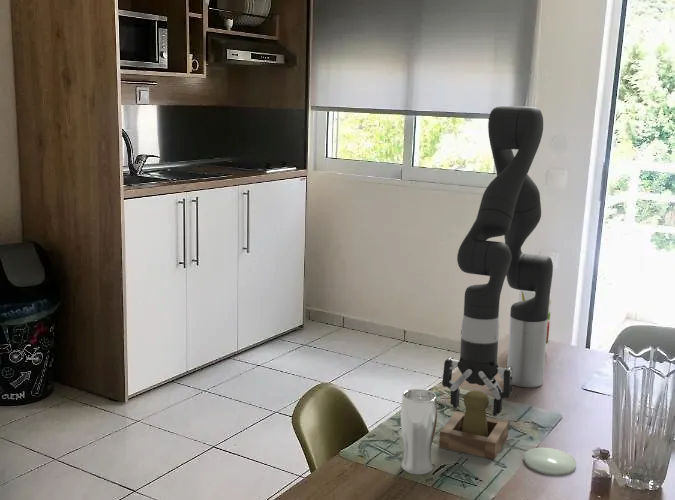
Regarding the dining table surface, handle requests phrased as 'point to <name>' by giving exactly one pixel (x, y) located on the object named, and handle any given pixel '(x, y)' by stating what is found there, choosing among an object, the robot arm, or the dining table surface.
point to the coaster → (549, 461)
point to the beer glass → (418, 429)
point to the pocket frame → (474, 437)
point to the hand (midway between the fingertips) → (475, 410)
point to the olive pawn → (475, 413)
